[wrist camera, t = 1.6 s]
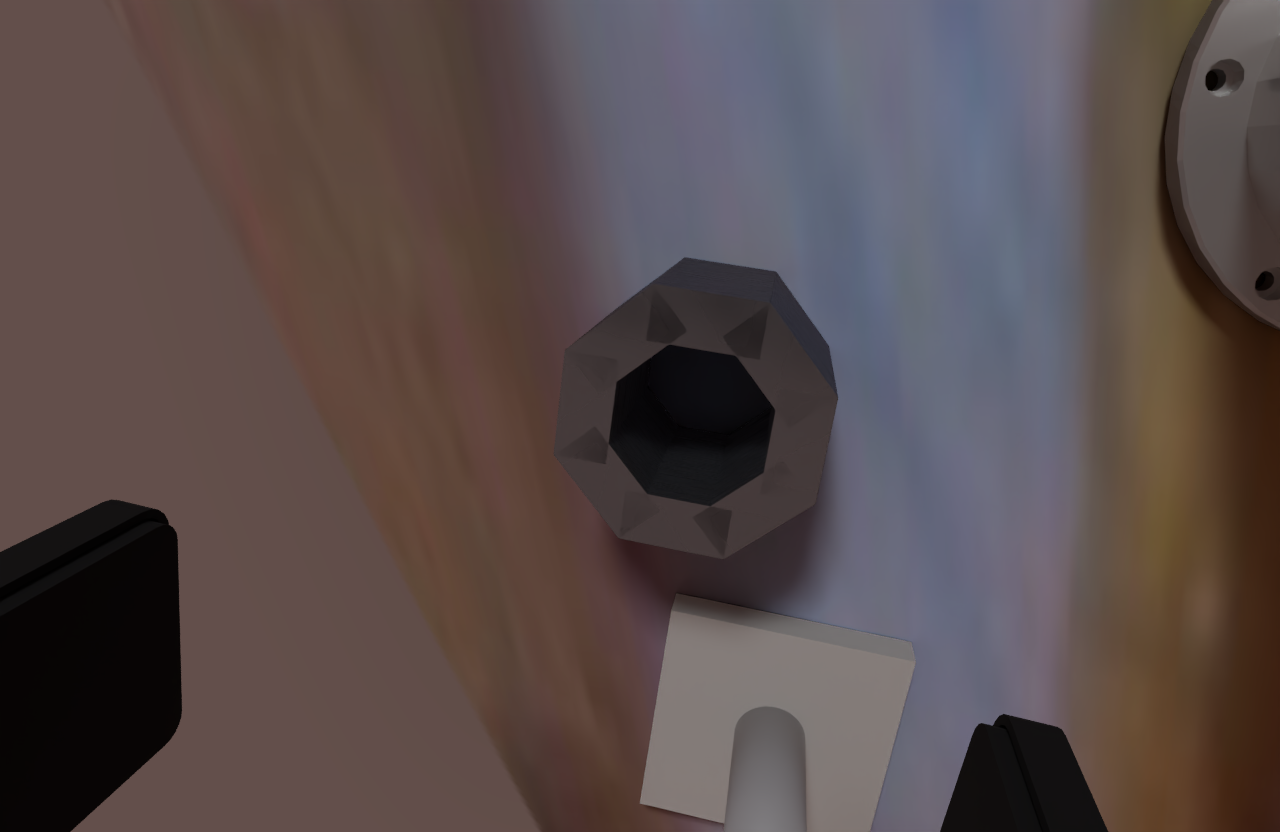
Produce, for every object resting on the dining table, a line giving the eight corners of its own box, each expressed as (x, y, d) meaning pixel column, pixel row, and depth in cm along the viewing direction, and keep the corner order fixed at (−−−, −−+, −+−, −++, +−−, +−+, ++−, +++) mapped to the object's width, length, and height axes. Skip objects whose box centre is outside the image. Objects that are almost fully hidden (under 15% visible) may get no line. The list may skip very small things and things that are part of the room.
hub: (842, 282, 25) (855, 316, 20) (799, 489, 27) (800, 574, 22) (621, 247, 26) (573, 271, 21) (596, 451, 28) (546, 523, 23)
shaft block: (911, 641, 28) (947, 793, 21) (860, 831, 31) (878, 1021, 24) (676, 593, 29) (639, 722, 22) (645, 780, 32) (604, 948, 25)
